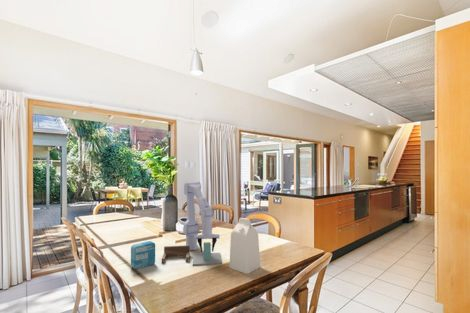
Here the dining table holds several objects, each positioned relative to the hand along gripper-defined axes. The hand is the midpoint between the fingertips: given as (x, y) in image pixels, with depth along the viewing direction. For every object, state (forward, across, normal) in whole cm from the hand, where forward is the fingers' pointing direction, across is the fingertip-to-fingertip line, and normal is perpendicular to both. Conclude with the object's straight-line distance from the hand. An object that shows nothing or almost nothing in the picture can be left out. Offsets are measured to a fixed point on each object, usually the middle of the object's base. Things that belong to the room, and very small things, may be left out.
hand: (207, 251), depth 144 cm
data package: (+5, -35, -4) cm, 36 cm away
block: (+4, 0, 0) cm, 4 cm away
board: (+5, 0, 0) cm, 5 cm away
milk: (+5, +20, -14) cm, 25 cm away
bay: (+5, -18, +3) cm, 19 cm away
